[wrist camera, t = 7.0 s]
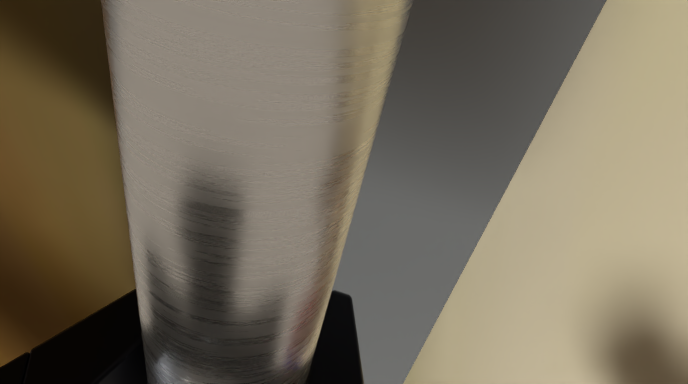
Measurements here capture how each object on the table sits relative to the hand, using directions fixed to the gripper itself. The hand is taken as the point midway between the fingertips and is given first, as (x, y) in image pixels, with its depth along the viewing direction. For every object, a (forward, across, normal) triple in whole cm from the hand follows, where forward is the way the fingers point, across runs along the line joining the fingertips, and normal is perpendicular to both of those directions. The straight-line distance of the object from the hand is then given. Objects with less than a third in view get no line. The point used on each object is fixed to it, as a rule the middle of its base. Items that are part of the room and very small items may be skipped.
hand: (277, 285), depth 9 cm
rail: (-1, 0, 0) cm, 1 cm away
